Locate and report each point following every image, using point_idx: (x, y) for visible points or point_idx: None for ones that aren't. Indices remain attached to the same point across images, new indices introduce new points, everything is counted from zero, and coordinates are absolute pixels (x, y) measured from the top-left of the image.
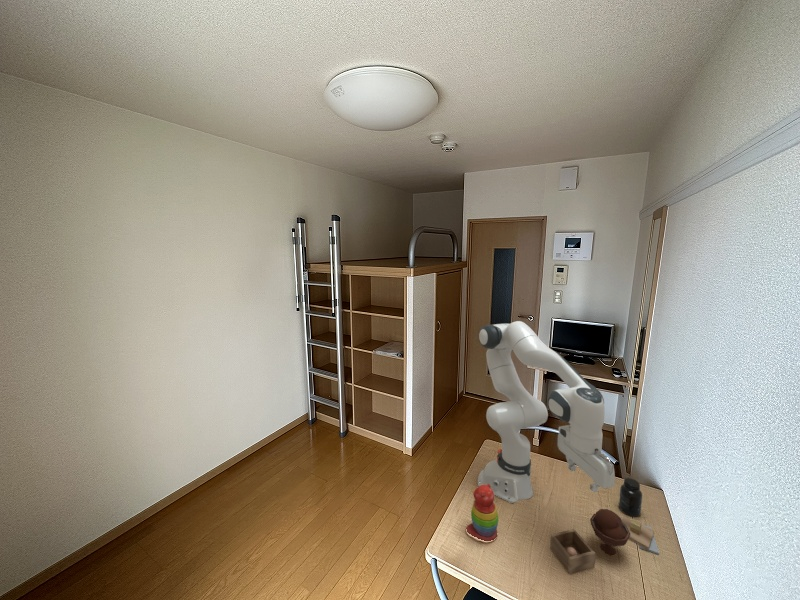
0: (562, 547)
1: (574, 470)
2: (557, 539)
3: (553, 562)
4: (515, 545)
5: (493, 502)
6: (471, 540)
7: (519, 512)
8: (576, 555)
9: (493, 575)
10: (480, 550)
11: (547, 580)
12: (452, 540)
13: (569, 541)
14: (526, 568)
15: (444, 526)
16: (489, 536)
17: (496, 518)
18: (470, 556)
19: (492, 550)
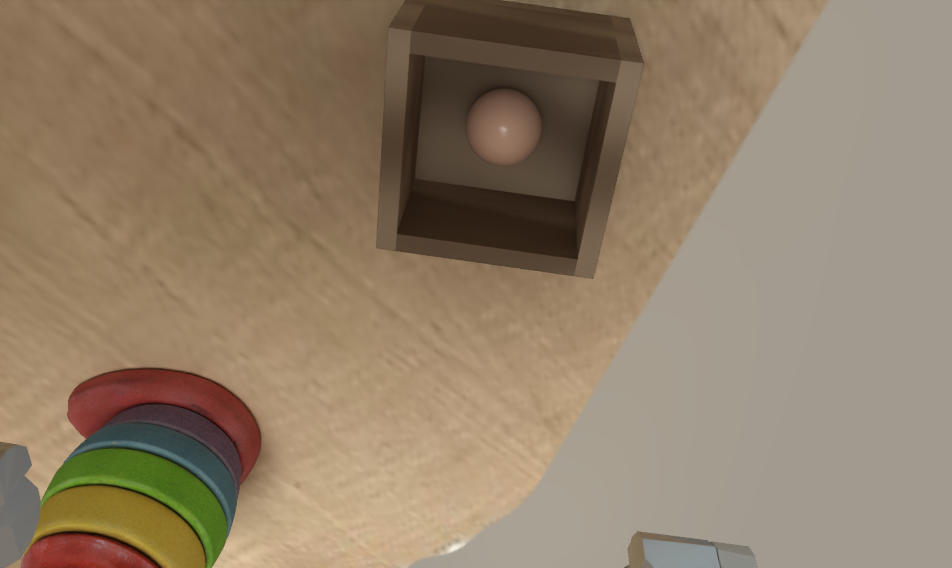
0: (497, 256)
1: (18, 462)
2: (404, 189)
3: None
4: (308, 341)
5: (93, 556)
6: None
7: (59, 152)
8: (588, 217)
9: (427, 513)
10: (290, 495)
11: (550, 332)
12: None
13: (419, 61)
14: (451, 377)
15: None
16: (240, 462)
17: (191, 515)
18: (309, 541)
19: (305, 452)
